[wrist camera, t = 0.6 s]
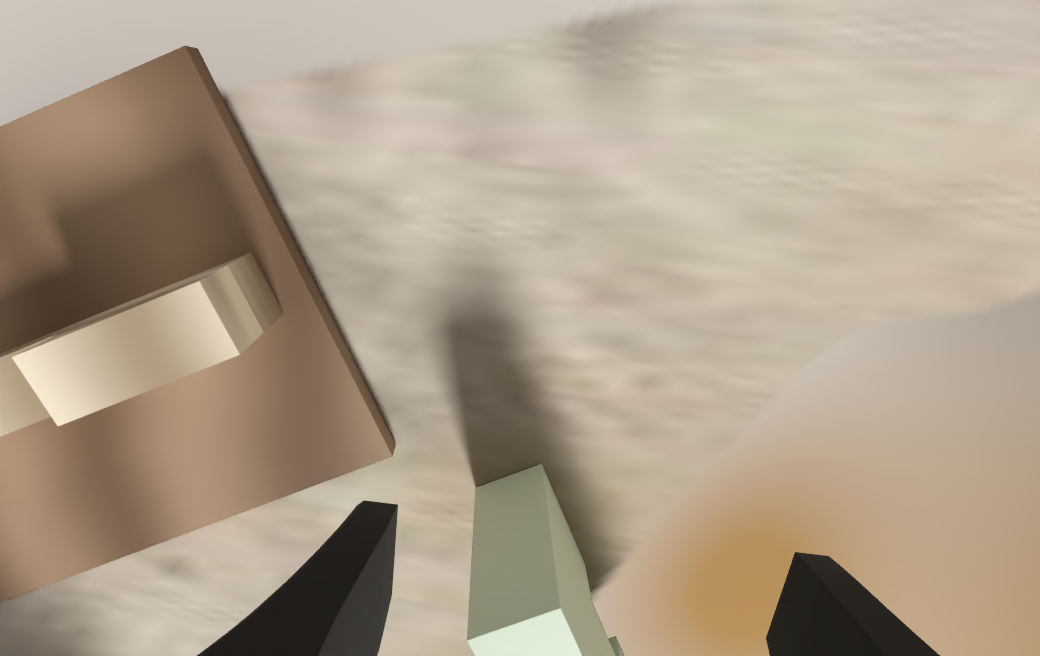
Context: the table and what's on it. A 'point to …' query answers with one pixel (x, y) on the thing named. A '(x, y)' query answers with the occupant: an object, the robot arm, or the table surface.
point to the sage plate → (529, 576)
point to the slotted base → (117, 243)
